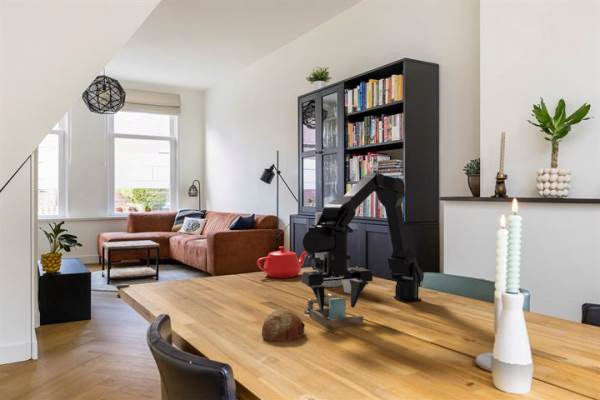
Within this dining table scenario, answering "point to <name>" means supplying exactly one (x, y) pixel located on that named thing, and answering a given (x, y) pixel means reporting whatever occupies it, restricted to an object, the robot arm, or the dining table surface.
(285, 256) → the teapot
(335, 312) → the spool
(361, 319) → the dock
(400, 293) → the robot arm
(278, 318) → the bread roll
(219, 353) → the dining table surface
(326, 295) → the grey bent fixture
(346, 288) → the cup
